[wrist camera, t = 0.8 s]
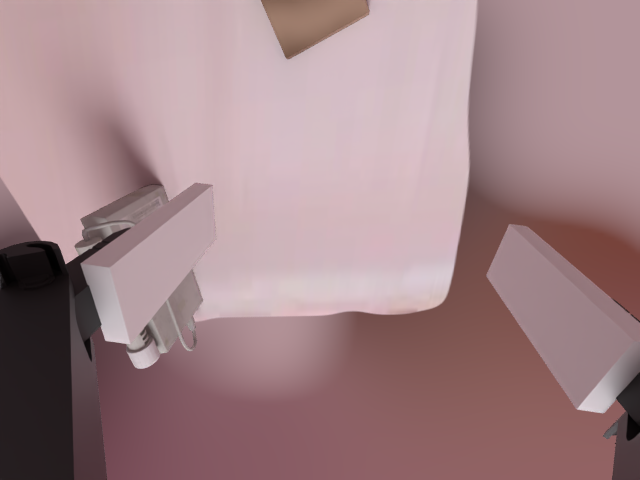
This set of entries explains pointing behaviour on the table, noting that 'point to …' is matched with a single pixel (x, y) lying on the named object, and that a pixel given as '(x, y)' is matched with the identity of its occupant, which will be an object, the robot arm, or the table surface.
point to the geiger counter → (179, 303)
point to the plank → (310, 20)
